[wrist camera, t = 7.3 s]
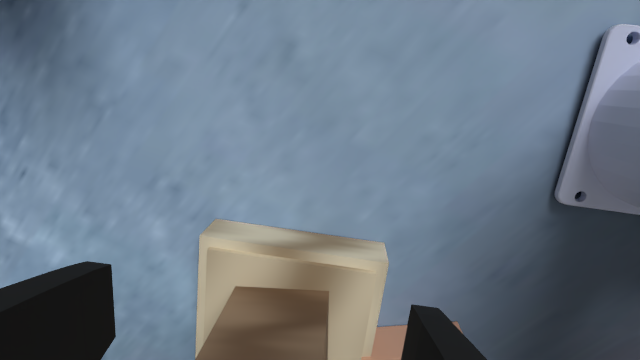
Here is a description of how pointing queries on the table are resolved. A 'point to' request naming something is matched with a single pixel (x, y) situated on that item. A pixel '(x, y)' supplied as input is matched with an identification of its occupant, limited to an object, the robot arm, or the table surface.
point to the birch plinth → (295, 277)
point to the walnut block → (270, 326)
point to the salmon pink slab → (390, 342)
